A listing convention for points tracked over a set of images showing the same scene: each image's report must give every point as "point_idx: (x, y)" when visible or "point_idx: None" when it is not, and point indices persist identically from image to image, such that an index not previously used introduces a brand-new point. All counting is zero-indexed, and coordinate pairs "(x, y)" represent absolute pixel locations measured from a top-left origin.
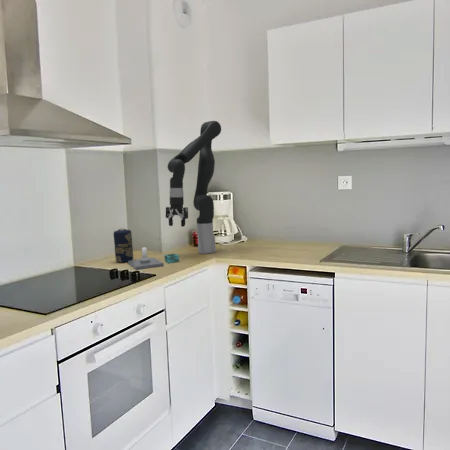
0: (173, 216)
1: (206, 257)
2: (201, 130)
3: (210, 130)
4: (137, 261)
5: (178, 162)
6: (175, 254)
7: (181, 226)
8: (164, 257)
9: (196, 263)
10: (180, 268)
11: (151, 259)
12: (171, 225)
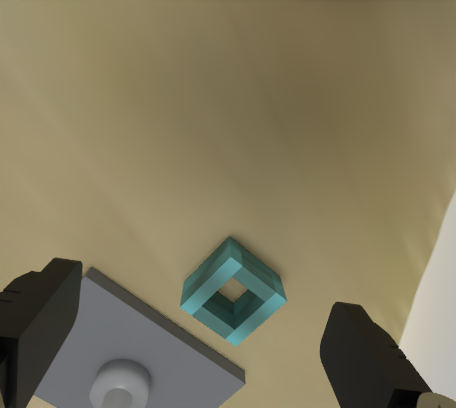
0: (3, 403)
1: (416, 129)
2: None
3: None
4: (68, 377)
5: None
6: (252, 285)
7: (321, 347)
8: (182, 297)
9: (401, 295)
10: None
11: (114, 325)
12: (77, 292)
